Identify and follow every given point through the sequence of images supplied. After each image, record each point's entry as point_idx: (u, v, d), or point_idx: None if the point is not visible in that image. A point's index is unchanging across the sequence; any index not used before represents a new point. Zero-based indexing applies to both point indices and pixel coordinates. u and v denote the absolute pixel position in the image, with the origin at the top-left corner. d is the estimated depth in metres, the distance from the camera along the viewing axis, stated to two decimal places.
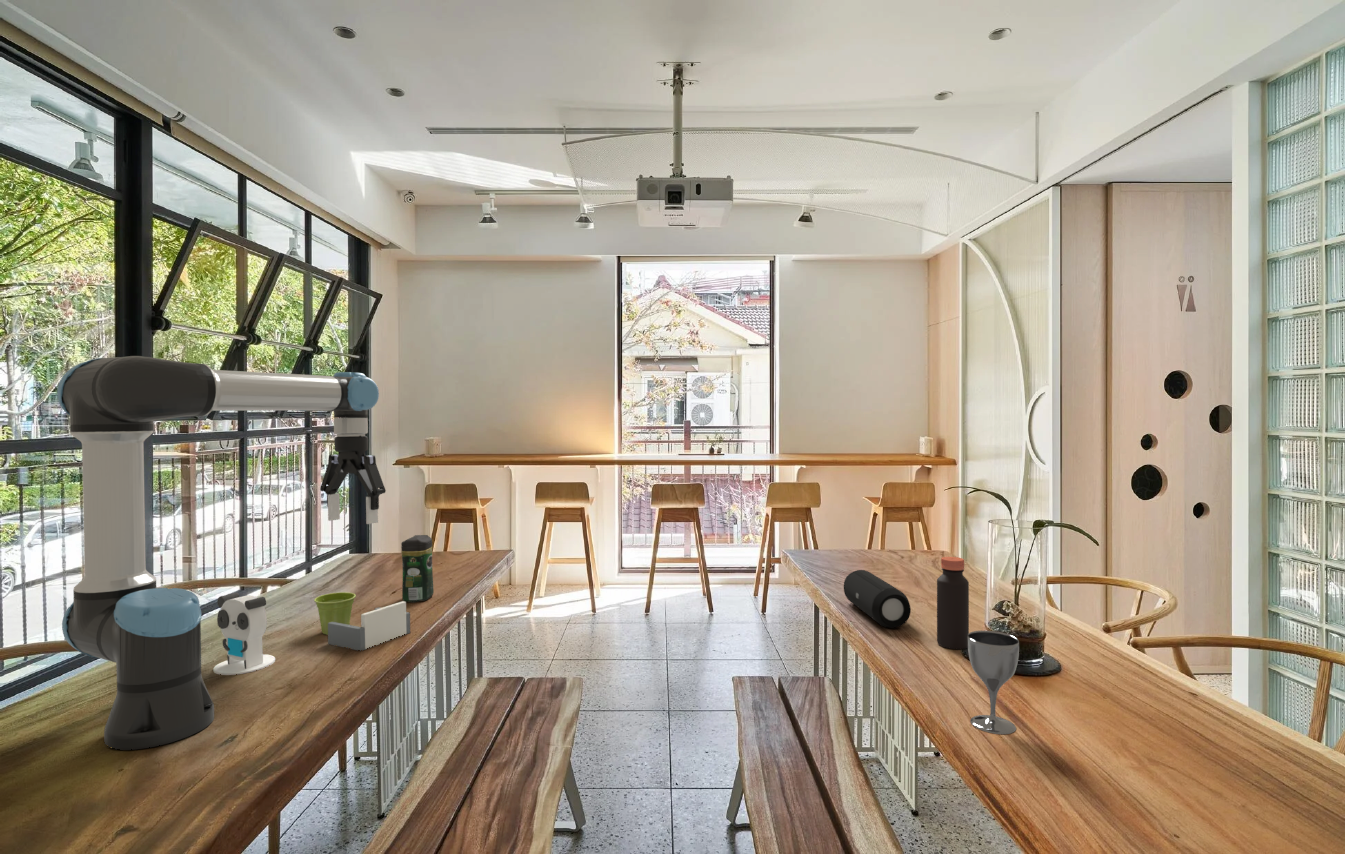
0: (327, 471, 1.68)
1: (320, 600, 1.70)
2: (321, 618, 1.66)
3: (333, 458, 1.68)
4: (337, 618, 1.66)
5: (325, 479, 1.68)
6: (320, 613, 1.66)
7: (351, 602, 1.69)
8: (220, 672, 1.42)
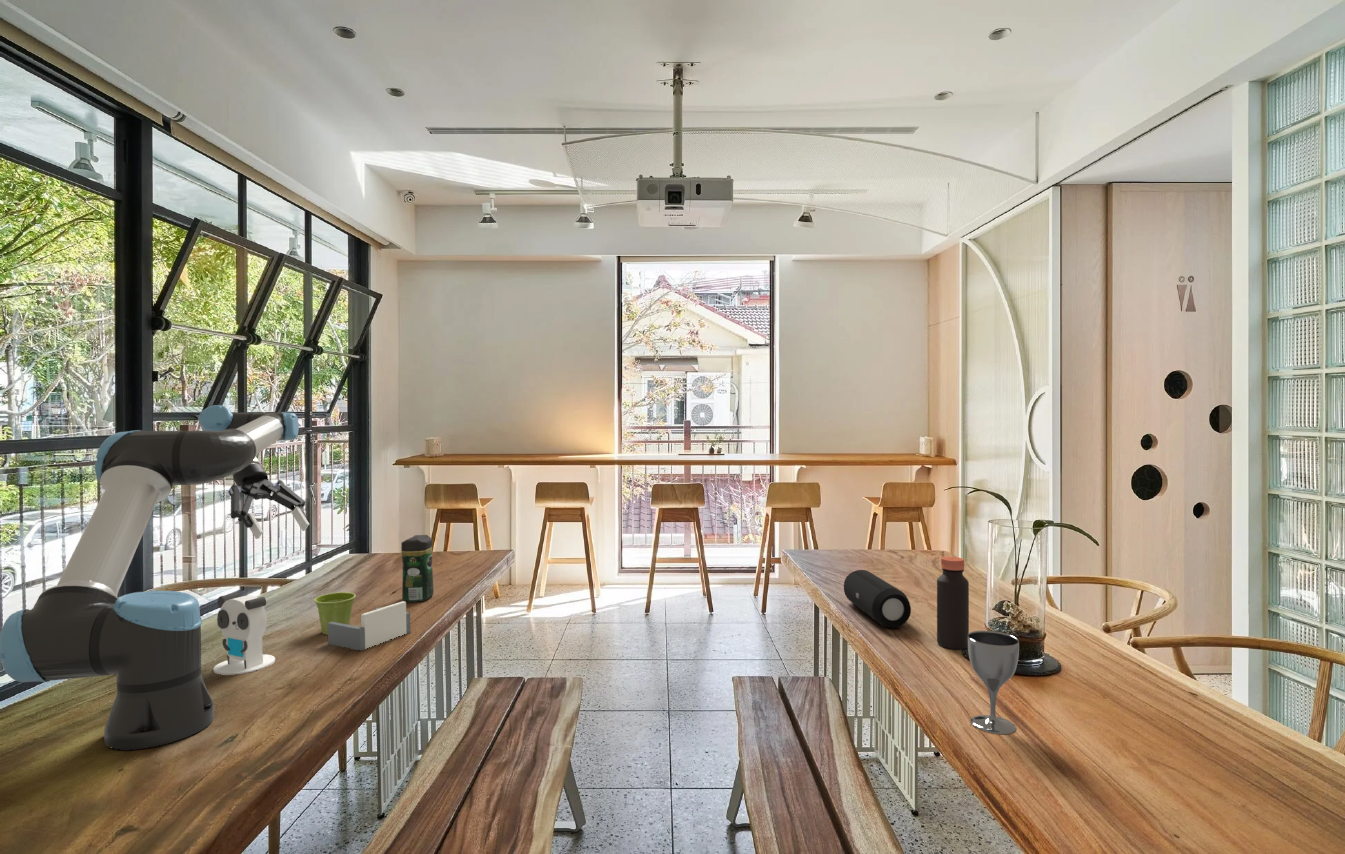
0: (237, 496, 1.75)
1: (320, 600, 1.70)
2: (321, 618, 1.66)
3: None
4: (337, 618, 1.66)
5: (238, 502, 1.74)
6: (320, 613, 1.66)
7: (351, 602, 1.69)
8: (220, 672, 1.42)
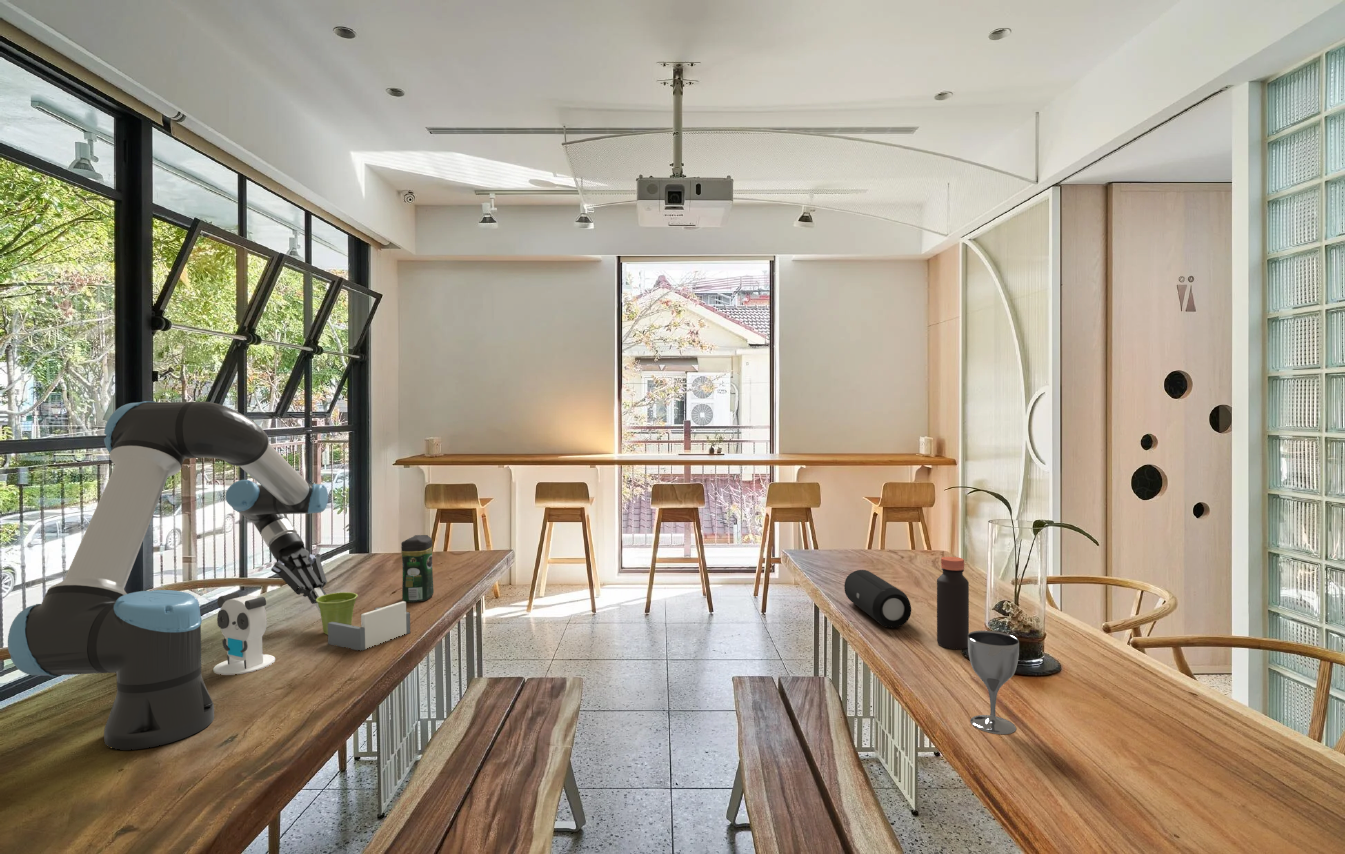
0: (289, 573, 1.71)
1: (322, 600, 1.70)
2: (323, 618, 1.66)
3: None
4: (338, 618, 1.66)
5: (296, 578, 1.71)
6: (322, 613, 1.66)
7: (353, 602, 1.69)
8: (220, 672, 1.42)
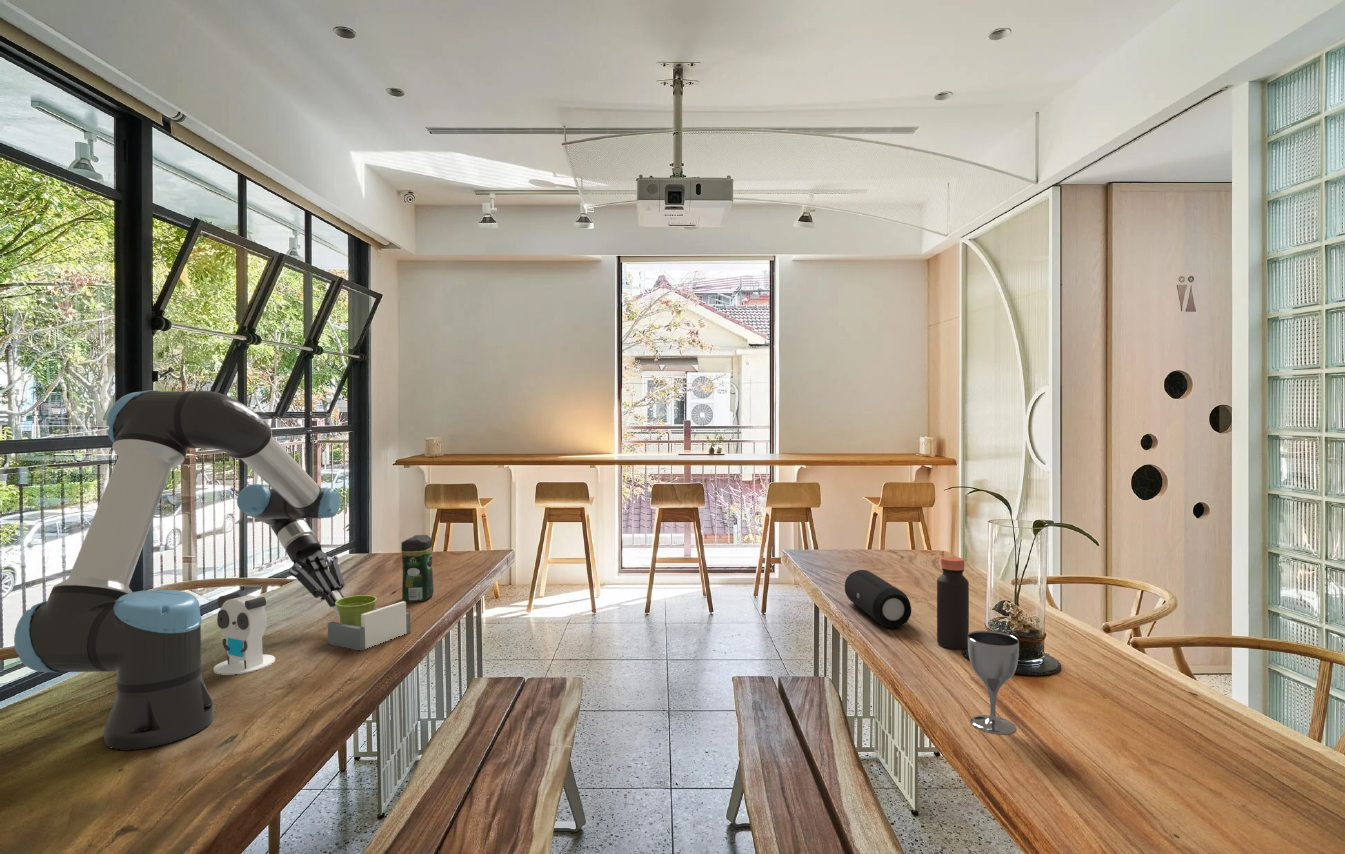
0: (307, 575, 1.68)
1: (340, 603, 1.67)
2: (342, 622, 1.63)
3: None
4: (358, 622, 1.63)
5: (313, 581, 1.68)
6: (341, 617, 1.63)
7: (372, 605, 1.66)
8: (220, 672, 1.42)
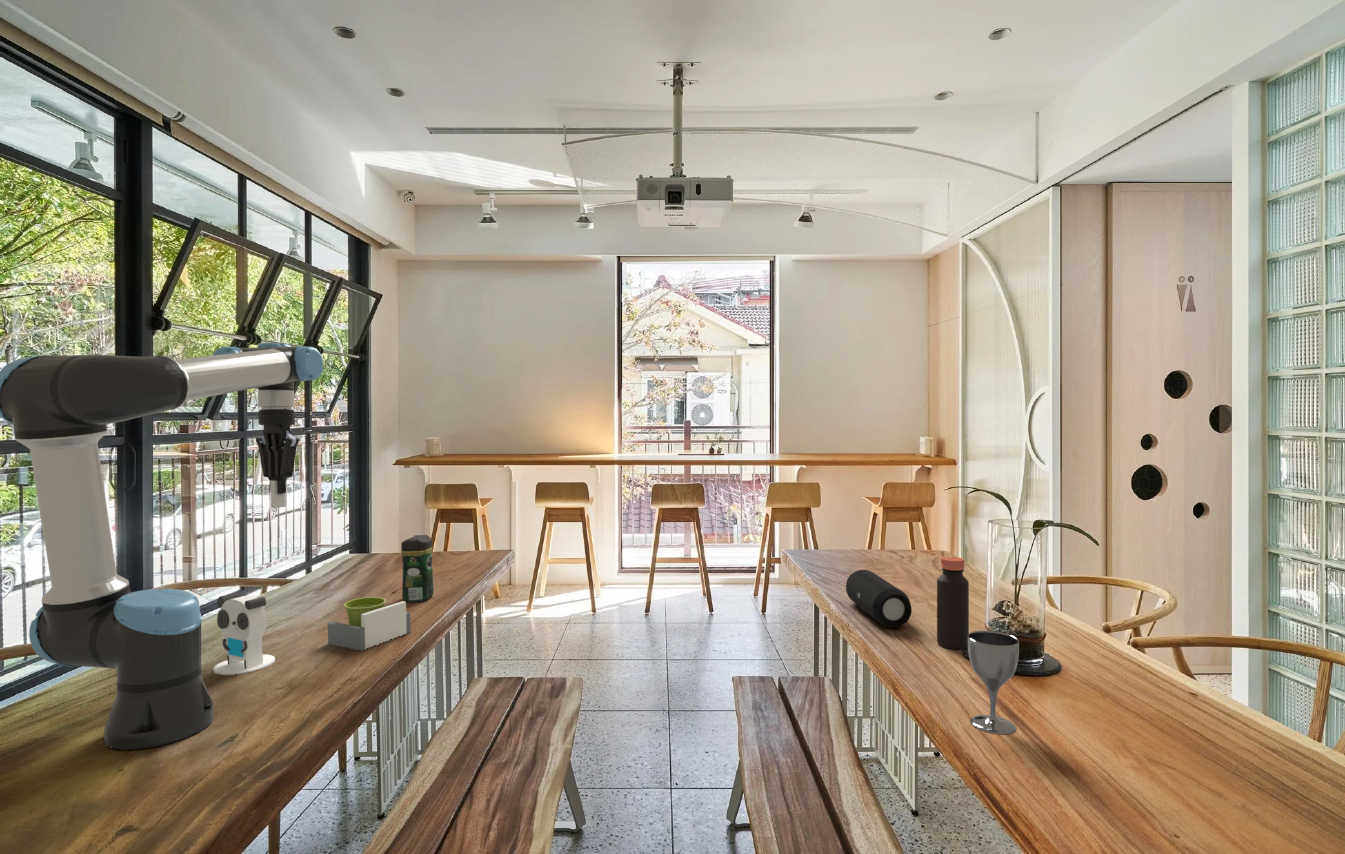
0: (261, 454, 1.62)
1: (348, 606, 1.65)
2: (352, 624, 1.61)
3: (260, 439, 1.62)
4: None
5: (263, 462, 1.61)
6: (351, 619, 1.61)
7: (382, 607, 1.65)
8: (220, 672, 1.42)
